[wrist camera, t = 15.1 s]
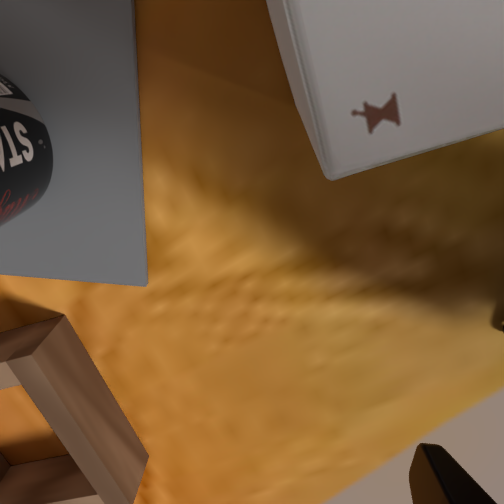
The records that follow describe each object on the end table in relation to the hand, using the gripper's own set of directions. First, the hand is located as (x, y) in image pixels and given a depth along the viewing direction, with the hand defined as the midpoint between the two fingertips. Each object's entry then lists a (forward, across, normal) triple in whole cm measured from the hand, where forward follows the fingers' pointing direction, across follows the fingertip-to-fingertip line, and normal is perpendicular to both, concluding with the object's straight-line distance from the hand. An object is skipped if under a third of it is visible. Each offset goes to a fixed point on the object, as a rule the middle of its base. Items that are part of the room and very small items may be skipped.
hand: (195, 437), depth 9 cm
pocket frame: (+13, +13, +14) cm, 23 cm away
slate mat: (+13, +12, -3) cm, 18 cm away
